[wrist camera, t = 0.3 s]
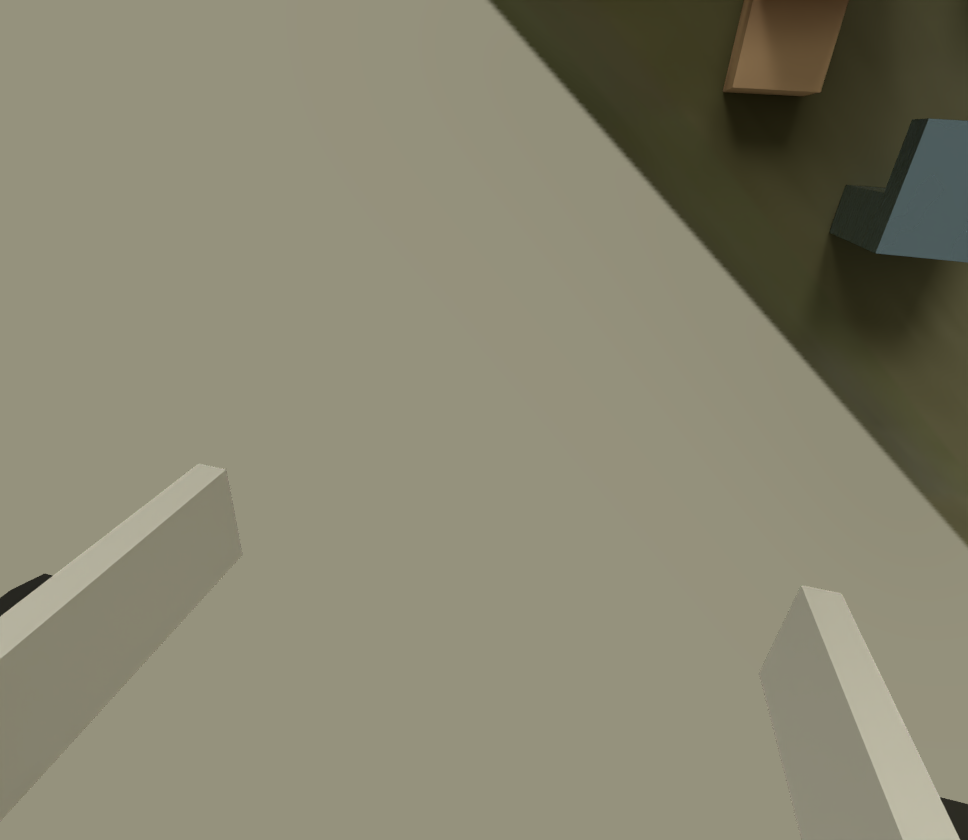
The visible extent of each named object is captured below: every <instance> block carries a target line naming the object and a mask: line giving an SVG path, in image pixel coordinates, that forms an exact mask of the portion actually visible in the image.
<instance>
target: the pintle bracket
mask: <svg viewBox="0 0 968 840" xmlns="http://www.w3.org/2000/svg"><path fill="white" fill-rule="evenodd" d="M829 233H832V234H834V235H836V236H838V237H840V238H843V239H845V240H847V241H849V242H852V243H854V244H856V245H858V246H860V247H863V248H865V249H867V250H869V251H871V252H874V253H877V254H887V255H897V256H908V257H918V258H928V259H938V260H948V261H959V262H968V121H961V120H944V119H915V120H912V121H911V124H910V127H909V129H908V132H907V135H906V137H905V140H904V142H903V145H902V148H901V150H900V153H899V155H898V158H897V161H896V163H895V166H894V168H893V171H892V174H891V176H890V179H889V181H888V184H887V187H886V188H878V187H866V186H853V185H846V186H845V189H844V192H843V195H842V197H841V200H840V203H839V206H838V209H837V212H836V215H835V217H834V220H833V223H832V226H831V229H830V232H829Z"/></svg>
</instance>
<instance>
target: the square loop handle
mask: <svg viewBox="0 0 968 840" xmlns="http://www.w3.org/2000/svg"><path fill="white" fill-rule="evenodd" d="M848 1H849V0H744V2H743V6H742V11H741V15H740V19H739V24H738V28H737V32H736V37H735V41H734V45H733V49H732V54H731V58H730V62H729V67H728V71H727V75H726V80H725V84H724V88H723V92H731V93H749V94H767V95H785V96H806V95H811V94H815V93H819V92H821V89H822V86H823V83H824V79H825V76H826V73H827V70H828V66H829V63H830V60H831V57H832V53H833V50H834V47H835V44H836V40H837V37H838V34H839V31H840V27H841V24H842V21H843V17H844V14H845V11H846V8H847V4H848Z"/></svg>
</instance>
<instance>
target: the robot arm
mask: <svg viewBox="0 0 968 840" xmlns="http://www.w3.org/2000/svg"><path fill="white" fill-rule="evenodd" d="M241 556H242V550H241V544H240V539H239V534H238V529H237V523H236V518H235V513H234V507H233V503H232V497H231V492H230V487H229V482H228V476H227V471H226V469H222V468H217V467H212V466H207V465H202V464H197V465H196V466H195V467H194V468H192V469H191V470H190V471H188V472H187V473H186V474H185V475H183V476H182V477H181V478H179V479H178V480H177V481H175V482H174V483H173V484H171V485H170V486H169V487H168V488H167V489H165V490H164V491H162V492H161V493H160V494H158V495H157V496H156V497H155V498H154V499H152V500H151V501H150V502H148V503H147V504H146V505H144V506H143V507H142V508H140V509H139V510H138V511H136V512H135V513H134V514H133V515H131V516H130V517H129V518H127V519H126V520H125V521H124V522H122V523H121V524H120V525H118V526H117V527H116V528H114V529H113V530H112V531H110V532H109V533H108V534H107V535H105V536H104V537H103V538H101V539H100V540H99V541H98V542H96V543H95V544H94V545H92V546H91V547H90V548H89V549H87V550H86V551H85V552H83V553H82V554H81V555H79V556H78V557H77V558H75V559H74V560H73V561H72V562H70V563H69V564H68V565H67V566H65V567H64V568H63V569H61V570H60V571H59V572H57V573H56V574H55V575H53V576H52V575H48V574H43V575H41V576H39V577H37V578H35V579H33V580H31V581H28V582H26V583H25V584H22V585H20V586H18V587H16V588H14V589H12V590H10V591H9V592H8V593H6V594H5V595H4V596H2V597H1V598H0V821H1V820H2V819H3V818H4V817H5V816H6V815H7V813H8V812H9V811H10V810H11V809H12V808H13V807H14V806H15V805H16V804H17V803H18V801H19V800H20V799H21V798H22V797H23V796H24V795H25V794H26V793H27V792H28V790H29V789H30V788H31V787H32V786H33V785H34V784H35V783H36V782H37V781H38V779H39V778H40V777H41V776H42V775H43V774H44V773H45V772H46V771H47V769H48V768H49V767H50V766H51V765H52V764H53V763H54V762H55V761H56V760H57V758H58V757H59V756H60V755H61V754H62V753H63V752H64V751H65V750H66V749H67V748H68V746H69V745H70V744H71V743H72V742H73V741H74V740H75V739H76V738H77V736H78V735H79V734H80V733H81V732H82V731H83V730H84V729H85V728H86V727H87V725H88V724H89V723H90V722H91V721H92V720H93V719H94V718H95V717H96V716H97V715H98V713H99V712H100V711H101V710H102V709H103V708H104V707H105V706H106V705H107V703H108V702H109V701H110V700H111V699H112V698H113V697H114V696H115V695H116V694H117V692H118V691H119V690H120V689H121V688H122V687H123V686H124V685H125V684H126V683H127V681H128V680H129V679H130V678H131V677H132V676H133V675H134V674H135V673H136V672H137V670H138V669H139V668H140V667H141V666H142V665H143V664H144V663H145V662H146V660H147V659H148V658H149V657H150V656H151V655H152V654H153V653H154V652H155V650H156V649H157V648H158V647H159V646H160V645H161V644H162V643H163V642H164V641H165V640H166V638H167V637H168V636H169V635H170V634H171V633H172V632H173V631H174V629H176V628H177V626H178V625H179V624H180V623H181V622H182V621H183V620H184V619H185V618H186V617H187V615H188V614H189V613H190V612H191V611H192V610H193V609H194V608H195V607H196V606H197V604H198V603H199V602H200V601H201V600H202V599H203V598H204V597H205V596H206V595H207V593H208V592H209V591H210V590H211V589H212V588H213V587H214V586H215V585H216V584H217V582H218V581H219V580H220V579H221V578H222V577H223V576H224V575H225V574H226V573H227V571H228V570H229V569H230V568H231V567H232V566H233V565H234V564H235V563H236V561H237V560H238V559H239V558H240V557H241ZM759 675H760V679H761V683H762V686H763V690H764V695H765V698H766V702H767V706H768V710H769V714H770V717H771V722H772V726H773V730H774V734H775V737H776V742H777V745H778V749H779V753H780V757H781V761H782V765H783V769H784V773H785V777H786V781H787V785H788V789H789V793H790V797H791V801H792V805H793V808H794V812H795V816H796V820H797V824H798V828H799V831H800V836H801V840H968V804H965V803H961V802H957V801H953V800H949V799H945V798H941V797H939V795H938V793H937V791H936V789H935V786H934V785H933V782H932V780H931V778H930V776H929V774H928V772H927V770H926V768H925V766H924V764H923V762H922V759H921V758H920V755H919V753H918V751H917V749H916V747H915V745H914V743H913V741H912V739H911V737H910V735H909V732H908V730H907V728H906V726H905V724H904V722H903V720H902V718H901V716H900V714H899V712H898V710H897V707H896V705H895V704H894V701H893V699H892V697H891V695H890V693H889V691H888V689H887V687H886V685H885V683H884V680H883V678H882V676H881V674H880V672H879V670H878V668H877V666H876V664H875V662H874V660H873V658H872V655H871V653H870V651H869V649H868V647H867V645H866V643H865V641H864V639H863V637H862V635H861V633H860V631H859V628H858V626H857V625H856V622H855V620H854V618H853V616H852V614H851V612H850V610H849V608H848V606H847V603H846V601H845V599H844V597H843V595H842V594H841V593H838V592H833V591H828V590H822V589H818V588H813V587H808V586H803V585H801V586H800V588H799V590H798V593H797V595H796V597H795V599H794V601H793V603H792V605H791V607H790V610H789V611H788V614H787V616H786V618H785V620H784V622H783V624H782V626H781V628H780V630H779V632H778V634H777V637H776V639H775V641H774V643H773V645H772V647H771V649H770V651H769V653H768V655H767V657H766V659H765V662H764V664H763V666H762V668H761V670H760V672H759Z"/></svg>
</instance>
